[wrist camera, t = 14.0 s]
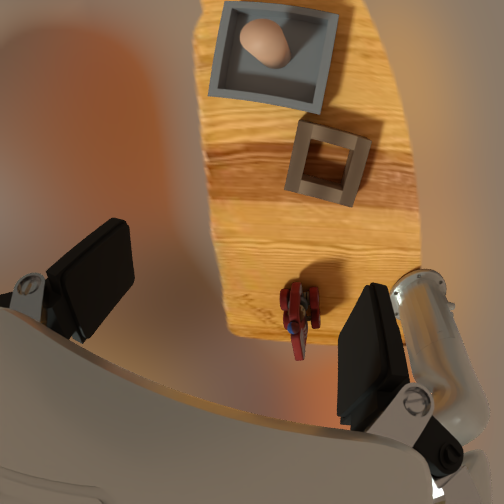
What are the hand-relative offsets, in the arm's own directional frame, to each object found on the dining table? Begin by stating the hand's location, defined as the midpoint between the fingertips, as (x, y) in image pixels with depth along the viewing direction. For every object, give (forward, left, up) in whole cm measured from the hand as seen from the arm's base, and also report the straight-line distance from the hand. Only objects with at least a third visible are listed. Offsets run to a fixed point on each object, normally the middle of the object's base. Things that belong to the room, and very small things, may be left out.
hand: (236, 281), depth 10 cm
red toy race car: (-8, +28, -33) cm, 44 cm away
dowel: (+5, -13, -32) cm, 34 cm away
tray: (+5, -13, -32) cm, 35 cm away
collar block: (-5, +1, -32) cm, 33 cm away
